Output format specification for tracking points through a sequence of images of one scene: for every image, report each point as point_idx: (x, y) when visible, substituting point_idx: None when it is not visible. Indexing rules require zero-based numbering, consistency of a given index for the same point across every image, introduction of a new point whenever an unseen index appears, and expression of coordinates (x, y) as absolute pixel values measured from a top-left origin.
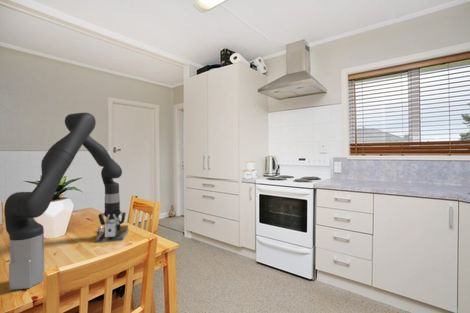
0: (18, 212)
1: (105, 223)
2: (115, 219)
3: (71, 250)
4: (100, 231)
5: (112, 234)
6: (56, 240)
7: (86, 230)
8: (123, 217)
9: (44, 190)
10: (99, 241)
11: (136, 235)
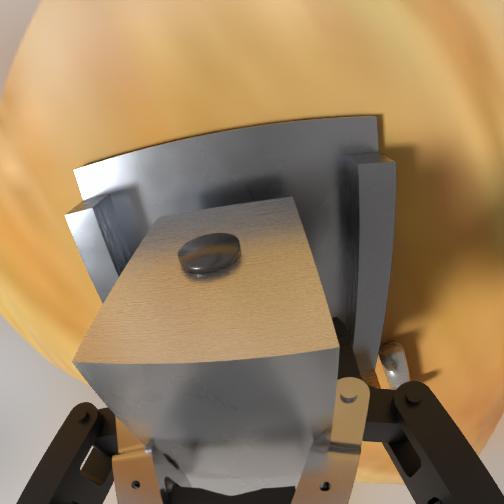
0: None
1: (354, 414)
2: (145, 482)
3: (489, 5)
4: (399, 365)
5: (182, 224)
6: None
7: (470, 386)
8: (40, 477)
9: None
10: (338, 142)
11: (50, 298)
